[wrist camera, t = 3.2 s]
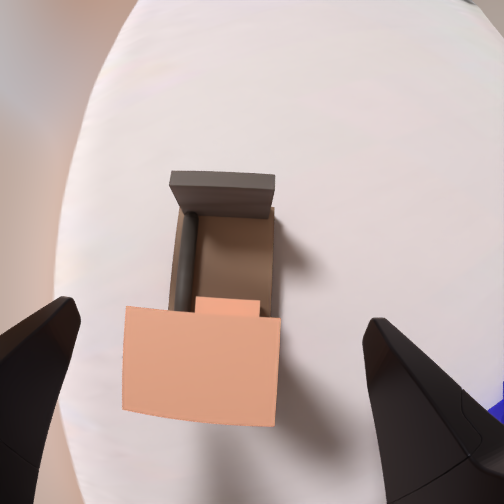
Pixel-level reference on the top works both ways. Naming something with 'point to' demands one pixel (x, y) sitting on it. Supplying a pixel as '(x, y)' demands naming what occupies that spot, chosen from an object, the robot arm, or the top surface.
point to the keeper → (202, 363)
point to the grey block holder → (222, 238)
